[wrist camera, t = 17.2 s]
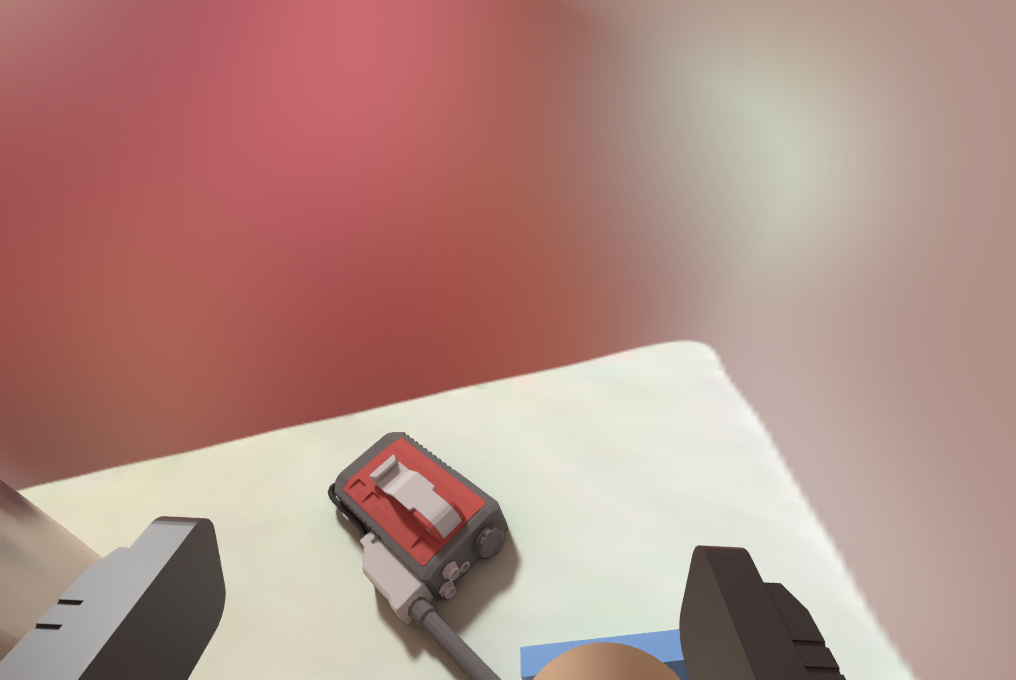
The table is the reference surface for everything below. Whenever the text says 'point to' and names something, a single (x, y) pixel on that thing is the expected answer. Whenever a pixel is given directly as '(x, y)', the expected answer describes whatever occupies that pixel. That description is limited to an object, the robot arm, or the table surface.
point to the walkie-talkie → (419, 533)
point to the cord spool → (606, 664)
